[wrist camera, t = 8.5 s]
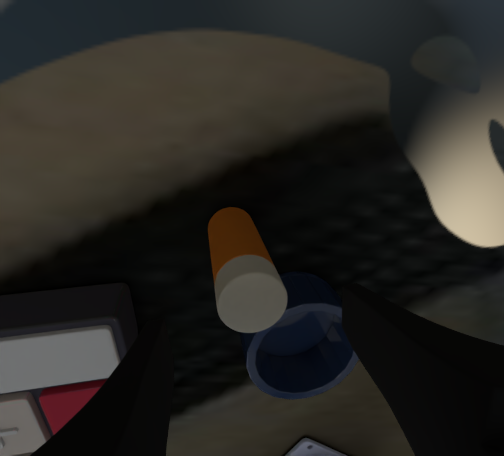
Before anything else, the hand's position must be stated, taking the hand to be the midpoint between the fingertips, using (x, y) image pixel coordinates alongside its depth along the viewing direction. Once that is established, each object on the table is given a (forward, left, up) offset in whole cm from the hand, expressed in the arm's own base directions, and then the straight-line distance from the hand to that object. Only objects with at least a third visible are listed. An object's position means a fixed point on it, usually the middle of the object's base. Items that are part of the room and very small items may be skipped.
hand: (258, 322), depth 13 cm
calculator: (+3, +16, -10) cm, 19 cm away
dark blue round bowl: (-8, +3, -9) cm, 12 cm away
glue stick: (0, 0, -9) cm, 9 cm away
